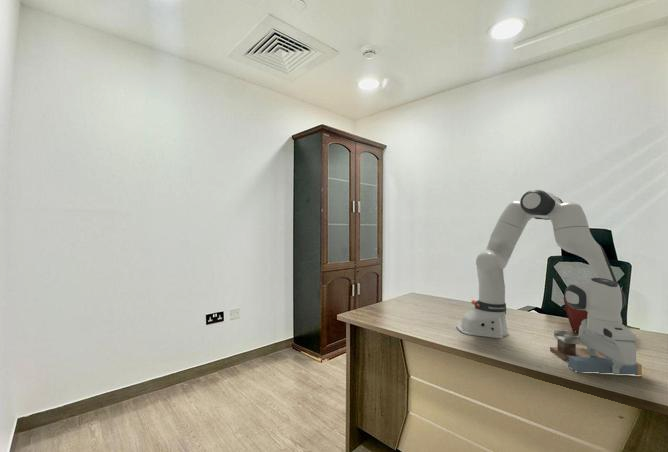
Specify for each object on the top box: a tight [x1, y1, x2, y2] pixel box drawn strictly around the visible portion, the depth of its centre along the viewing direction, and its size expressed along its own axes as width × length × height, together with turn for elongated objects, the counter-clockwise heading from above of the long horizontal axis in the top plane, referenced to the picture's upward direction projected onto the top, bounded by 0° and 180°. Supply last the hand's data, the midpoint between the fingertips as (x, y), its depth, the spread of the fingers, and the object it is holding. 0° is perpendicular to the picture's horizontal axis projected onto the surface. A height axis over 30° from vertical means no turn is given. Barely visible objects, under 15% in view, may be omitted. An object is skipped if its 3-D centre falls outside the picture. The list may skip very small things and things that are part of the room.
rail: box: [568, 356, 643, 375], centre depth 101 cm, size 20×4×4 cm, turn 83°
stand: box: [549, 329, 608, 361], centre depth 112 cm, size 22×9×10 cm, turn 83°
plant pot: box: [563, 296, 588, 333], centre depth 141 cm, size 19×19×17 cm
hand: (604, 366), depth 101 cm, fingers open, 7 cm apart
